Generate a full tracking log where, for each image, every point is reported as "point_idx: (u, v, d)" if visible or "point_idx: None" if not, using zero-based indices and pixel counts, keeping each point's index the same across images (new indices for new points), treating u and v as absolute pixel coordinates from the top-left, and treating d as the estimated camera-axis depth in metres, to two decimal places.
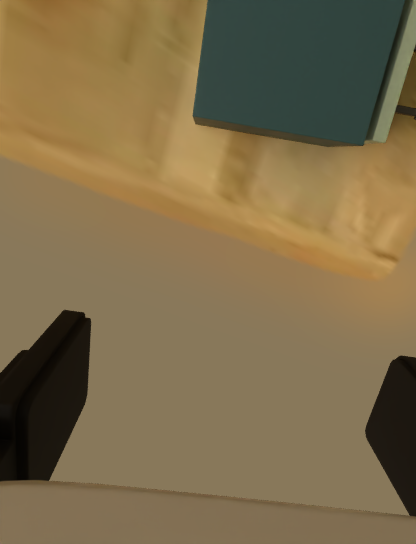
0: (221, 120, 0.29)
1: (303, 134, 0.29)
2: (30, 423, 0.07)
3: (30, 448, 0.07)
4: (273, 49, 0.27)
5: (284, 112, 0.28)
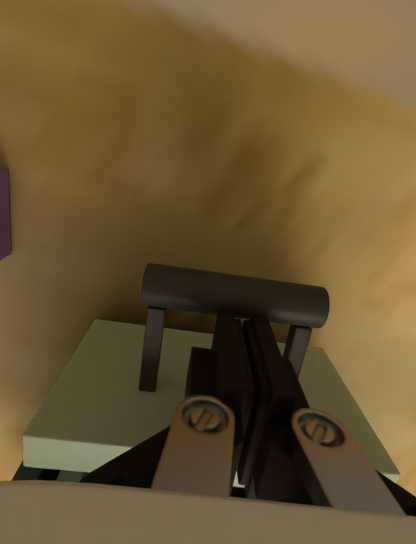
0: None
1: None
2: None
3: (246, 426, 0.08)
4: None
5: None
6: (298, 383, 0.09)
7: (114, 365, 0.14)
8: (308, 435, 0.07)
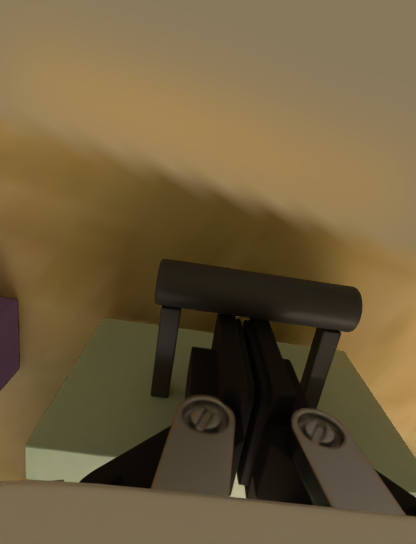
0: None
1: None
2: None
3: (246, 426, 0.08)
4: None
5: None
6: (298, 383, 0.09)
7: (124, 368, 0.13)
8: (308, 435, 0.07)
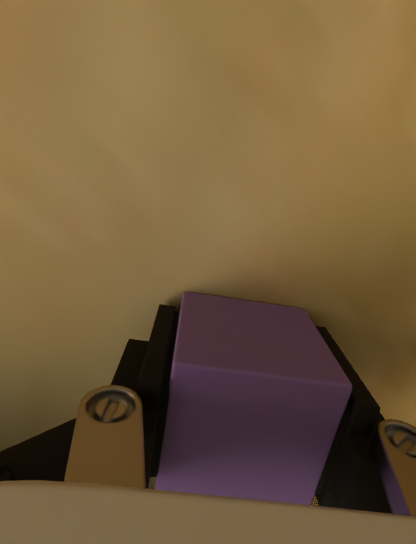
0: None
1: None
2: None
3: None
4: None
5: None
6: None
7: None
8: (398, 447, 0.07)
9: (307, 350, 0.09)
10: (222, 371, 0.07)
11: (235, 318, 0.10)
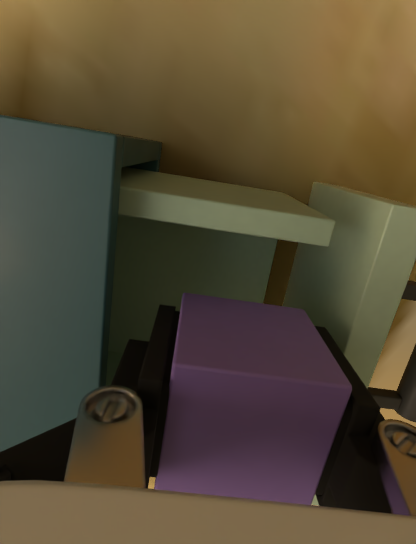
0: None
1: None
2: None
3: None
4: None
5: None
6: None
7: None
8: (398, 447, 0.07)
9: (307, 351, 0.09)
10: (221, 372, 0.07)
11: (235, 319, 0.10)
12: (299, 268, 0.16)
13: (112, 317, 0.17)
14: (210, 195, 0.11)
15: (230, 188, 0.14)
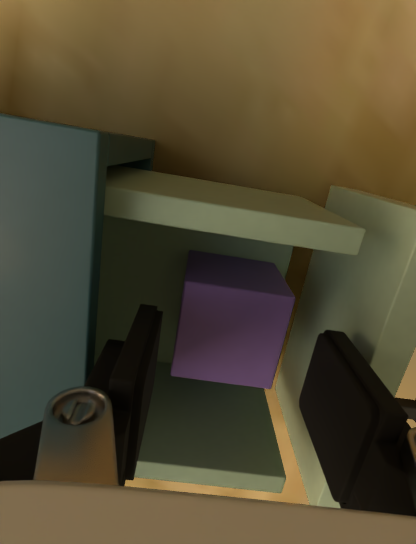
0: None
1: None
2: None
3: (140, 420, 0.08)
4: None
5: None
6: None
7: None
8: None
9: (270, 281, 0.13)
10: (214, 286, 0.12)
11: (225, 264, 0.14)
12: (315, 274, 0.16)
13: (123, 322, 0.17)
14: (234, 201, 0.10)
15: (248, 192, 0.13)
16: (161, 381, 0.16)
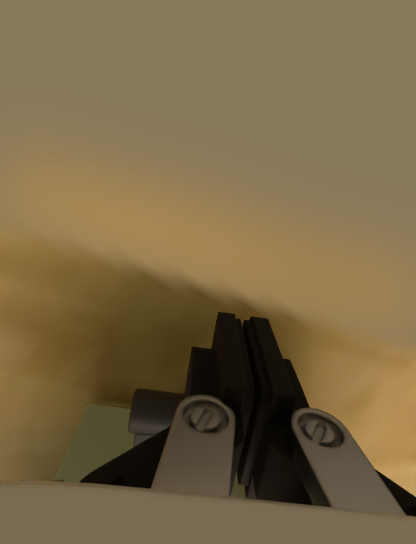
0: None
1: None
2: None
3: (246, 426, 0.08)
4: None
5: None
6: (298, 383, 0.09)
7: None
8: (308, 435, 0.07)
9: None
10: None
11: None
12: None
13: None
14: None
15: None
16: None
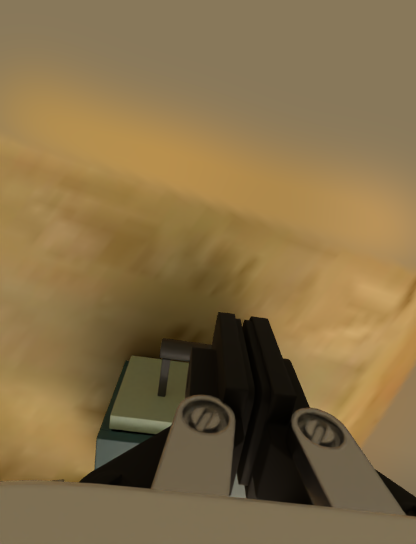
0: None
1: None
2: None
3: (246, 426, 0.08)
4: None
5: None
6: (298, 383, 0.09)
7: (144, 383, 0.27)
8: (308, 435, 0.07)
9: None
10: None
11: None
12: None
13: None
14: None
15: None
16: None
